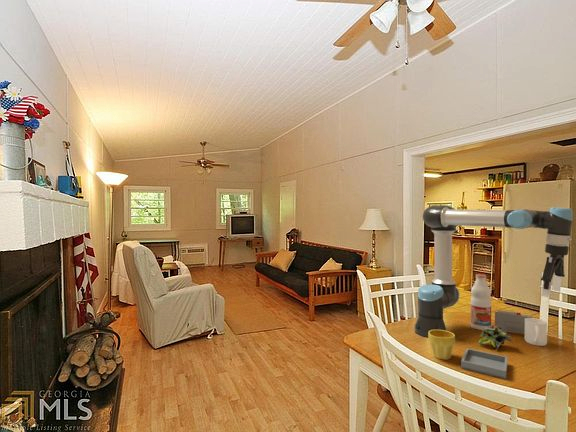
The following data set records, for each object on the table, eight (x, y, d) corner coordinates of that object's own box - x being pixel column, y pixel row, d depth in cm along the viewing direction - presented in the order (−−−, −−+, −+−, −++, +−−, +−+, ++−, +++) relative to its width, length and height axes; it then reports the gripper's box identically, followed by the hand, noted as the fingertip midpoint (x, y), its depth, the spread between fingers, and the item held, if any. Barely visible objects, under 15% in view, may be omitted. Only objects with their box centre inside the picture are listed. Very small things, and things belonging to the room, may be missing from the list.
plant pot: (424, 351, 144) (424, 329, 144) (448, 351, 144) (448, 329, 144) (434, 361, 134) (434, 338, 134) (459, 362, 134) (459, 338, 134)
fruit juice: (481, 324, 178) (482, 272, 178) (495, 330, 169) (495, 276, 169) (466, 325, 177) (466, 273, 176) (479, 331, 168) (479, 277, 167)
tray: (461, 368, 128) (461, 360, 128) (466, 355, 140) (466, 348, 140) (505, 379, 120) (505, 371, 120) (507, 364, 132) (507, 356, 131)
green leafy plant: (496, 356, 151) (513, 336, 150) (500, 361, 141) (518, 340, 140) (473, 338, 156) (489, 319, 155) (475, 342, 146) (493, 321, 145)
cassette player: (531, 333, 165) (531, 313, 165) (532, 335, 163) (532, 315, 162) (494, 328, 172) (494, 309, 172) (495, 330, 170) (495, 311, 169)
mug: (549, 350, 144) (549, 327, 144) (526, 346, 149) (526, 324, 148) (545, 341, 154) (545, 319, 154) (523, 338, 159) (523, 316, 159)
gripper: (559, 249, 126) (552, 302, 129) (577, 243, 141) (570, 291, 144) (536, 245, 132) (529, 296, 135) (555, 240, 147) (549, 286, 149)
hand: (550, 293), depth 139 cm, fingers open, 13 cm apart
